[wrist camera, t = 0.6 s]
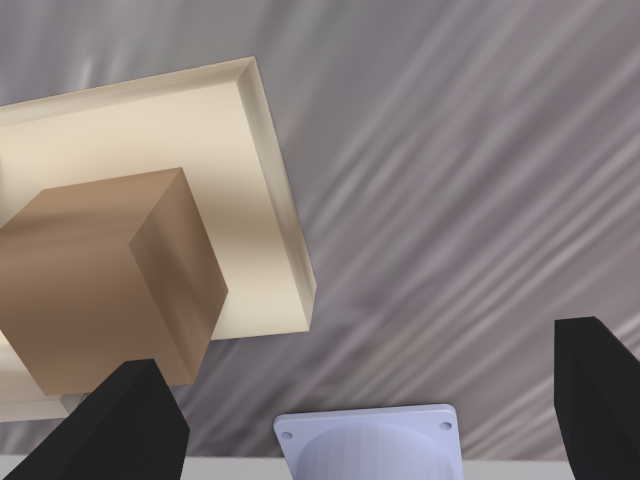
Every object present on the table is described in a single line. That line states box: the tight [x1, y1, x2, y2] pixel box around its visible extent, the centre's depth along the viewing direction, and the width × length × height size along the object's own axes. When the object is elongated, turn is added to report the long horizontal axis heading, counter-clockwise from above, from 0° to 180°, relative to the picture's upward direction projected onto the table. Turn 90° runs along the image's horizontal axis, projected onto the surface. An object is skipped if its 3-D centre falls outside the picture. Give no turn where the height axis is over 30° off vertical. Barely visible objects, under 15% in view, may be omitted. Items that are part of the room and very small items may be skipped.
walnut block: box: [0, 167, 229, 396], centre depth 16 cm, size 4×4×4 cm
